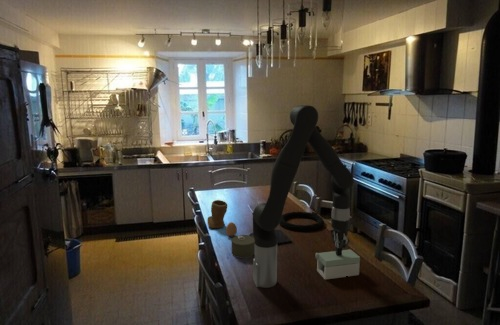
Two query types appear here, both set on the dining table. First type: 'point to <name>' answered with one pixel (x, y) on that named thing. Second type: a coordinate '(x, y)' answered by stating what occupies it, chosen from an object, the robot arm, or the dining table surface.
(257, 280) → the robot arm
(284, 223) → the cable lock
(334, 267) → the curved white channel
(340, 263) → the cover
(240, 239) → the can
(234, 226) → the egg
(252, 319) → the dining table surface
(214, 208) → the brown boot
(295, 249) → the dining table surface
